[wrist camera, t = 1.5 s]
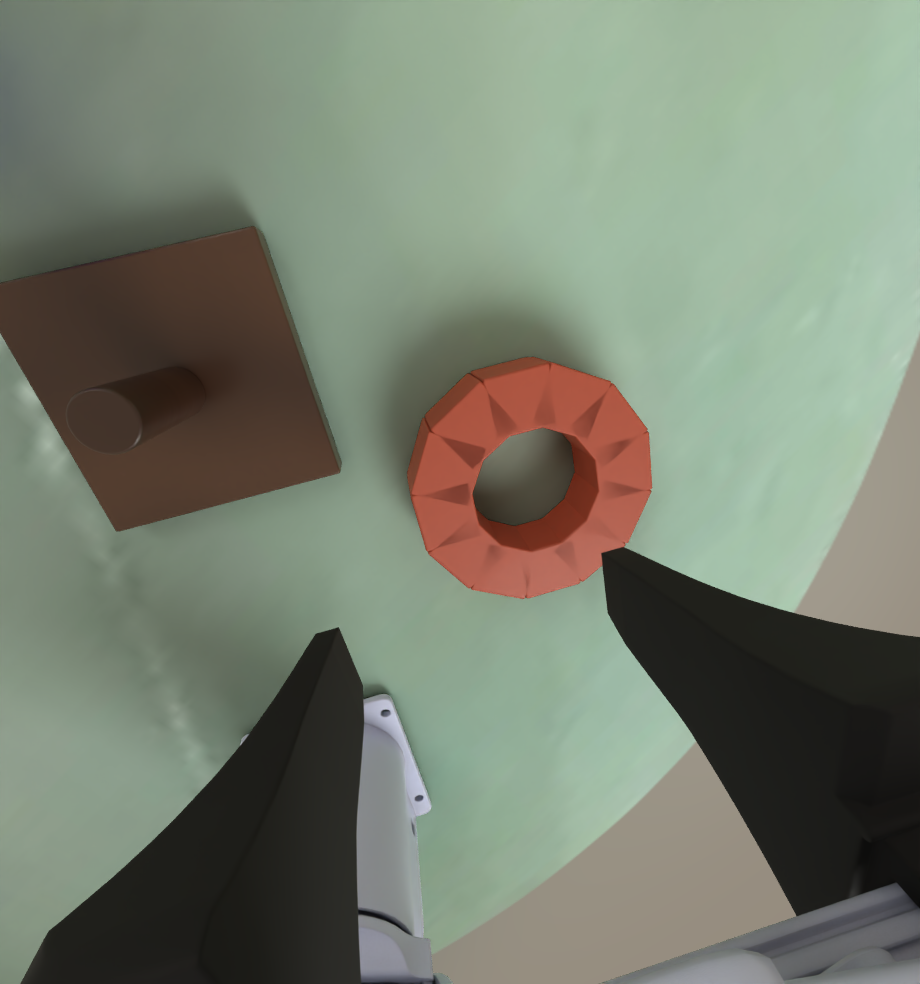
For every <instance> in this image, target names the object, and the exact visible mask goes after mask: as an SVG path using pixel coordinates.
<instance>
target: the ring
mask: <svg viewBox="0 0 920 984" xmlns="http://www.w3.org/2000/svg"><path fill="white" fill-rule="evenodd" d="M539 428H547V429H550V430H554V431H557V432H561V433H562V434H563V435H564V436H565V437H566V439H567V440H568V441H569V442H570V443H571V446H572V454H573V461H574V469H575V473H574V475H573V478H572V480H571V483H570V485H569V488H568V490H567V493H566V495H565V498H564V499H563V500H562V501H561V502H560V503H559V504H558V505H557V506H556V507H555V508H553V509H552V510H551V511H550V512H549V513H548V514H547V515H546V516H544V517H543V518H542V519H538V520H535V521H531V522H528V523H524V524H521V525H517V526H512V525H508V524H503V523H499V522H494V521H490V520H487V519H486V518H485V517H484V516H483V515H482V514H481V513H480V512H479V511H478V510H477V509H476V508H475V503H474V499H473V495H472V493H473V490H474V487H475V484H476V481H477V478H478V475H479V472H480V469H481V466H482V463H483V460H485V459H486V458H487V457H488V456H489V455H490V454H491V453H492V452H493V451H494V450H495V449H496V448H497V447H498V446H499V445H501V444H502V443H503V442H504V441H505V440H506V439H507V438H508V437H509V436H513V435H516V434H520V433H524V432H528V431H531V430H535V429H539ZM407 475H408V476H407V478H408V484H409V490H410V495H411V500H412V503H413V507H414V510H415V513H416V517H417V520H418V524H419V527H420V531H421V534H422V538H423V541H424V545H425V548H426V550H427V551H428V554H429V555H430V556H432V557H433V558H434V559H435V560H436V561H437V562H438V563H440V564H441V565H442V566H443V567H444V568H445V569H447V570H448V571H449V572H450V573H451V574H452V575H454V576H455V577H456V578H457V579H458V580H459V581H461V582H462V583H463V584H464V585H465V586H466V587H468V588H470V587H471V589H472V590H477V591H482V592H488V593H493V594H499V595H504V596H510V597H516V598H521V599H524V598H525V597H526V598H531V597H535V596H538V595H541V594H545V593H548V592H552V591H555V590H559V589H562V588H565V587H569V586H572V585H576V584H579V583H580V581H582V582H583V581H584V580H586V579H587V578H588V577H589V576H590V575H591V574H593V573H594V572H595V571H596V570H597V569H598V568H600V567H601V566H602V556H601V553H603V552H606V551H610V550H613V549H617V548H621V547H624V546H625V543H628V541H629V539H630V537H631V535H632V533H633V531H634V528H635V526H636V524H637V522H638V520H639V517H640V515H641V513H642V511H643V509H644V507H645V504H646V502H647V500H648V498H649V496H650V494H651V490H650V489H652V477H651V461H650V445H649V432H648V431H647V428H646V426H645V425H644V424H643V422H642V421H641V420H640V418H639V417H638V416H637V414H636V413H635V412H634V410H633V409H632V408H631V406H630V405H629V404H628V402H627V401H626V400H625V398H624V397H623V396H622V394H621V393H620V392H619V390H618V389H617V388H616V386H615V385H614V384H613V383H611V382H610V381H608V380H605V379H602V378H599V377H596V376H592V375H589V374H586V373H583V372H580V371H577V370H574V369H571V368H568V367H565V366H562V365H559V364H556V363H553V362H549V361H546V360H542V359H539V358H535V357H531V358H530V357H525V358H521V359H517V360H513V361H509V362H505V363H501V364H497V365H493V366H489V367H485V368H481V369H477V370H474V371H471V373H470V374H469V373H467V374H466V375H465V376H464V377H463V378H462V379H461V380H460V381H459V382H458V383H457V384H456V385H455V386H454V387H453V388H452V389H451V390H450V391H449V392H448V393H447V394H446V395H445V396H443V397H442V398H441V399H440V400H439V401H438V402H437V403H436V404H435V405H434V406H433V407H432V408H431V409H430V410H429V411H428V412H427V413H426V414H425V418H422V421H421V425H420V428H419V432H418V435H417V439H416V443H415V446H414V450H413V453H412V457H411V460H410V464H409V467H408V471H407Z"/></svg>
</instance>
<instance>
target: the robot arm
mask: <svg viewBox="0 0 920 984" xmlns="http://www.w3.org/2000/svg"><path fill="white" fill-rule="evenodd" d="M601 556H602V565H603V574H604V583H605V592H606V601H607V610H608V614H609V616H610V618H611V620H612V621H613V623H614V625H615V627H616V629H617V630H618V632H619V634H620V636H621V637H622V639H623V641H624V642H625V644H626V646H627V647H628V648H629V650H630V651H631V652H632V654H633V655H634V656H635V658H636V659H637V660H638V662H639V663H640V664H641V666H642V667H643V668H644V670H645V671H646V672H647V674H648V675H649V676H650V678H651V679H652V680H653V682H654V683H655V684H656V685H657V687H658V688H659V689H660V691H661V692H662V693H663V695H664V696H665V697H666V699H667V700H668V701H669V703H670V704H671V705H672V706H673V708H674V709H675V710H676V712H677V713H678V714H679V716H680V717H681V719H682V720H683V722H684V723H685V724H686V726H687V727H688V729H689V730H690V732H691V733H692V735H693V736H694V738H695V740H696V741H697V743H698V744H699V746H700V748H701V749H702V751H703V753H704V754H705V755H706V757H707V759H708V761H709V762H710V764H711V765H712V767H713V769H714V770H715V772H716V774H717V775H718V777H719V779H720V780H721V782H722V784H723V785H724V787H725V789H726V791H727V792H728V794H729V796H730V797H731V799H732V801H733V802H734V803H735V806H736V807H737V809H738V811H739V812H740V814H741V816H742V818H743V819H744V821H745V823H746V824H747V827H748V828H749V830H750V832H751V834H752V835H753V837H754V839H755V841H756V842H757V844H758V846H759V848H760V849H761V851H762V853H763V855H764V857H765V858H766V860H767V862H768V864H769V865H770V867H771V869H772V871H773V873H774V875H775V877H776V878H777V880H778V882H779V884H780V886H781V888H782V890H783V891H784V893H785V895H786V897H787V899H788V901H789V903H790V904H791V906H792V908H793V910H794V912H795V913H796V917H793V918H791V919H788V920H785V921H782V922H779V923H776V924H773V925H770V926H767V927H764V928H761V929H758V930H755V931H753V932H750V933H746V934H744V935H741V936H738V937H735V938H732V939H729V940H726V941H723V942H720V943H717V944H714V945H711V946H709V947H705V948H703V949H699V950H697V951H694V952H691V953H688V954H685V955H682V956H679V957H676V958H673V959H670V960H667V961H664V962H661V963H658V964H655V965H652V966H650V967H647V968H644V969H641V970H638V971H635V972H632V973H629V974H626V975H623V976H620V977H617V978H615V979H612V980H609V981H606V982H603V983H600V984H920V637H913V636H905V635H899V634H893V633H887V632H880V631H875V630H869V629H863V628H858V627H853V626H848V625H843V624H838V623H833V622H829V621H824V620H820V619H816V618H812V617H808V616H804V615H799V614H795V613H792V612H788V611H784V610H781V609H777V608H774V607H771V606H767V605H764V604H761V603H758V602H754V601H751V600H748V599H745V598H742V597H739V596H736V595H734V594H731V593H728V592H726V591H723V590H720V589H718V588H715V587H712V586H710V585H707V584H705V583H702V582H700V581H698V580H695V579H693V578H690V577H688V576H686V575H684V574H681V573H679V572H677V571H675V570H672V569H670V568H668V567H666V566H664V565H661V564H659V563H657V562H655V561H653V560H651V559H648V558H646V557H644V556H642V555H640V554H638V553H636V552H633V551H631V550H629V549H626V548H624V547H621V548H617V549H613V550H610V551H606V552H603V553H601ZM385 709H387V711H382V710H385ZM430 810H431V800H430V798H429V795H428V792H427V790H426V787H425V784H424V782H423V779H422V777H421V774H420V771H419V769H418V766H417V763H416V761H415V758H414V755H413V753H412V750H411V747H410V745H409V742H408V740H407V737H406V734H405V732H404V729H403V726H402V724H401V721H400V718H399V716H398V713H397V710H396V708H395V705H394V703H393V700H392V698H391V696H389V695H388V694H380V695H376V696H373V697H370V698H366V699H363V685H362V682H361V680H360V677H359V675H358V673H357V670H356V668H355V665H354V663H353V661H352V658H351V656H350V653H349V651H348V649H347V646H346V644H345V641H344V639H343V636H342V634H341V632H340V629H339V627H338V628H335V629H331V630H328V631H324V632H321V633H317V634H315V636H314V637H313V639H312V640H311V642H310V644H309V645H308V647H307V648H306V650H305V652H304V653H303V655H302V656H301V658H300V660H299V661H298V663H297V664H296V666H295V668H294V669H293V671H292V672H291V674H290V676H289V677H288V679H287V680H286V682H285V683H284V685H283V686H282V688H281V689H280V691H279V693H278V694H277V696H276V697H275V699H274V700H273V702H272V703H271V704H270V706H269V707H268V709H267V710H266V711H265V713H264V714H263V716H262V717H261V718H260V720H259V721H258V723H257V724H256V725H255V727H254V728H253V730H252V731H251V732H250V734H247V735H245V736H244V737H243V738H242V740H241V743H240V746H239V748H238V749H237V750H236V752H235V753H234V754H233V755H232V756H231V758H230V759H229V760H228V761H227V762H226V763H225V765H224V766H223V767H222V768H221V769H220V771H219V772H218V773H217V774H216V775H215V776H214V778H213V779H212V780H211V781H210V782H209V783H208V784H207V785H206V786H205V787H204V788H203V789H202V790H201V792H200V793H199V794H198V795H197V796H196V797H195V798H194V799H193V800H192V801H191V802H190V803H189V804H188V805H187V806H186V808H185V809H184V810H183V811H182V812H181V813H180V814H179V815H178V816H177V817H176V818H175V819H174V820H173V821H172V822H171V823H170V824H169V825H168V826H167V827H166V828H165V829H164V830H163V831H162V832H161V833H160V834H159V835H158V836H157V837H156V838H155V839H154V840H153V841H152V842H151V843H150V844H149V845H147V846H146V847H145V848H144V849H143V850H142V851H141V852H140V853H139V854H138V855H137V856H136V857H135V858H133V859H132V860H131V861H130V862H129V863H128V864H127V865H126V866H125V867H124V868H123V869H121V870H120V871H119V872H118V873H117V874H116V875H115V876H114V877H113V878H111V879H110V880H109V881H108V882H107V883H106V884H104V885H103V886H102V887H101V888H100V889H98V890H97V891H96V892H95V893H94V894H93V895H91V896H90V897H89V898H88V899H87V900H86V901H84V902H83V903H82V904H81V905H80V906H78V907H77V908H76V909H75V910H74V911H73V912H71V913H70V914H69V915H68V916H67V917H65V918H64V919H63V920H62V921H61V922H59V923H58V924H57V925H56V926H55V927H53V928H52V929H51V930H50V931H49V932H48V933H47V935H46V937H45V939H44V940H43V942H42V944H41V946H40V948H39V950H38V952H37V954H36V955H35V957H34V959H33V961H32V963H31V965H30V967H29V969H28V971H27V972H26V974H25V976H24V978H23V980H22V982H21V984H453V982H452V981H451V980H450V979H449V977H448V976H446V975H444V974H442V973H433V968H432V956H431V944H430V939H428V938H423V934H424V921H423V907H422V894H421V881H420V867H419V854H418V840H417V827H416V817H417V816H420V815H423V814H426V813H428V812H429V811H430Z"/></svg>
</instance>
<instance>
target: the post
mask: <svg viewBox="0 0 920 984" xmlns="http://www.w3.org/2000/svg"><path fill="white" fill-rule="evenodd" d="M0 333H1V335H2V337H3V338H4V340H5V342H6V344H7V345H8V347H9V349H10V350H11V352H12V354H13V356H14V357H15V359H16V361H17V362H18V364H19V366H20V368H21V369H22V371H23V373H24V374H25V376H26V378H27V380H28V381H29V383H30V385H31V386H32V388H33V390H34V392H35V393H36V395H37V397H38V398H39V400H40V402H41V404H42V405H43V407H44V409H45V410H46V412H47V414H48V415H49V417H50V419H51V421H52V422H53V424H54V426H55V427H56V429H57V431H58V433H59V434H60V436H61V438H62V439H63V441H64V443H65V445H66V446H67V448H68V450H69V451H70V453H71V455H72V457H73V458H74V460H75V462H76V463H77V465H78V467H79V469H80V470H81V472H82V474H83V475H84V477H85V479H86V481H87V482H88V484H89V486H90V487H91V489H92V491H93V493H94V494H95V496H96V498H97V499H98V501H99V503H100V505H101V506H102V508H103V510H104V511H105V513H106V515H107V517H108V518H109V520H110V522H111V523H112V525H113V527H114V528H115V530H116V531H123V530H127V529H130V528H134V527H138V526H142V525H146V524H149V523H153V522H157V521H161V520H164V519H168V518H172V517H176V516H180V515H183V514H187V513H191V512H195V511H198V510H202V509H206V508H210V507H214V506H217V505H221V504H225V503H229V502H232V501H236V500H240V499H244V498H247V497H251V496H255V495H259V494H263V493H266V492H270V491H274V490H278V489H281V488H285V487H289V486H293V485H297V484H300V483H304V482H308V481H312V480H315V479H319V478H323V477H327V476H331V475H334V474H338V473H340V470H341V466H342V462H341V459H340V456H339V453H338V450H337V447H336V444H335V441H334V438H333V435H332V433H331V430H330V427H329V424H328V421H327V418H326V415H325V412H324V409H323V406H322V403H321V400H320V398H319V395H318V392H317V389H316V386H315V383H314V380H313V377H312V374H311V371H310V368H309V365H308V363H307V360H306V357H305V354H304V351H303V348H302V345H301V342H300V339H299V336H298V333H297V330H296V328H295V325H294V322H293V319H292V316H291V313H290V310H289V307H288V304H287V301H286V298H285V295H284V293H283V290H282V287H281V284H280V281H279V278H278V275H277V272H276V269H275V266H274V263H273V260H272V258H271V255H270V252H269V249H268V246H267V243H266V240H265V237H264V234H263V233H262V231H260V230H259V229H257V228H256V227H254V226H251V227H246V228H242V229H237V230H233V231H228V232H224V233H219V234H215V235H210V236H206V237H202V238H197V239H193V240H188V241H184V242H179V243H175V244H170V245H166V246H161V247H157V248H153V249H148V250H144V251H139V252H135V253H130V254H126V255H121V256H117V257H113V258H108V259H104V260H99V261H95V262H90V263H86V264H81V265H77V266H72V267H68V268H64V269H59V270H55V271H50V272H46V273H41V274H37V275H32V276H28V277H23V278H19V279H15V280H10V281H6V282H1V283H0Z"/></svg>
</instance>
